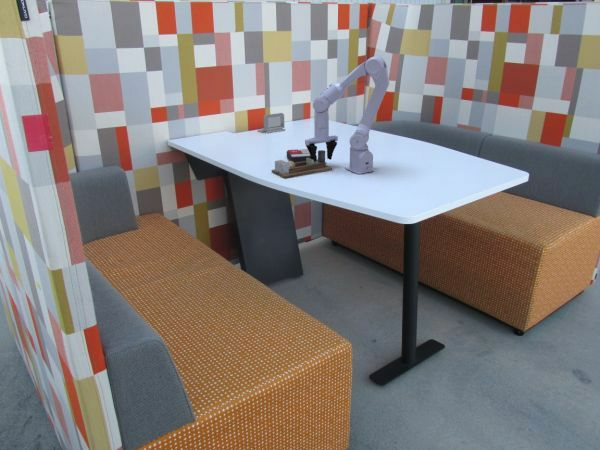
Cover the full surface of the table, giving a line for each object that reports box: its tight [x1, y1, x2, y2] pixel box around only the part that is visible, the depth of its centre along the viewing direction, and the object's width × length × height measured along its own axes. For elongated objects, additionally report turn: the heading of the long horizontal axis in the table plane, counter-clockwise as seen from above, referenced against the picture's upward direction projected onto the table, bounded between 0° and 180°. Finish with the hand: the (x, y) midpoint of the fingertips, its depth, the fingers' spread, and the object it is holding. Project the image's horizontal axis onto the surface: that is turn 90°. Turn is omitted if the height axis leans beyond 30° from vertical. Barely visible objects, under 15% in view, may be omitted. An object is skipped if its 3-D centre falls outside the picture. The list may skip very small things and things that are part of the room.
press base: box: [271, 158, 333, 180], centre depth 203 cm, size 11×22×3 cm, turn 120°
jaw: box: [306, 150, 328, 166], centre depth 205 cm, size 4×8×6 cm, turn 120°
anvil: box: [274, 159, 290, 175], centre depth 198 cm, size 7×3×4 cm, turn 30°
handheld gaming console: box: [257, 112, 286, 135], centre depth 279 cm, size 13×9×10 cm
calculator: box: [286, 148, 318, 163], centre depth 220 cm, size 11×4×15 cm
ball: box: [286, 160, 295, 168], centre depth 200 cm, size 4×4×4 cm
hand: (321, 160), depth 207 cm, fingers open, 7 cm apart
